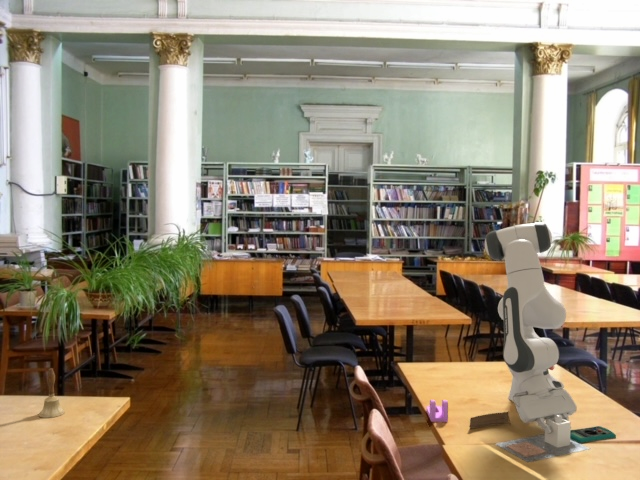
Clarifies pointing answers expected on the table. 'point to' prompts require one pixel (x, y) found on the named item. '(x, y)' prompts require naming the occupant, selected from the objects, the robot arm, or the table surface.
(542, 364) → the robot arm
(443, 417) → the bracket
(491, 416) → the brown bark piece
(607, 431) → the digital multimeter
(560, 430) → the sleeve
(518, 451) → the post plate
